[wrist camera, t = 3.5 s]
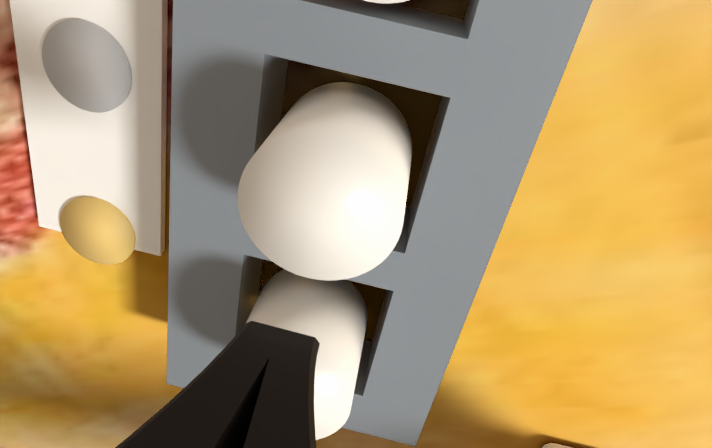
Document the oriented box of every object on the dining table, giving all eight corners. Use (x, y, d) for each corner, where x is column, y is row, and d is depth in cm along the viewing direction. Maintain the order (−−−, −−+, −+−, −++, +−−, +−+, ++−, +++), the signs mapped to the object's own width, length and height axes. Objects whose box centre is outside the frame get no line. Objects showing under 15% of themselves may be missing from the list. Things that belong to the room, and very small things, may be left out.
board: (663, -276, 12) (722, -328, 10) (418, 387, 23) (415, 446, 21) (235, -370, 12) (180, -445, 10) (196, 332, 24) (166, 383, 21)
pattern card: (164, 270, 22) (158, 278, 22) (48, 241, 22) (39, 248, 22) (170, -220, 14) (161, -225, 13) (-14, -261, 14) (-30, -267, 14)
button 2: (356, 363, 20) (338, 454, 17) (254, 338, 21) (216, 423, 17) (378, 281, 18) (363, 365, 15) (265, 253, 18) (225, 331, 15)
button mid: (395, 220, 17) (383, 296, 14) (273, 190, 17) (231, 259, 14) (427, 100, 15) (423, 154, 12) (289, 67, 15) (245, 112, 12)
